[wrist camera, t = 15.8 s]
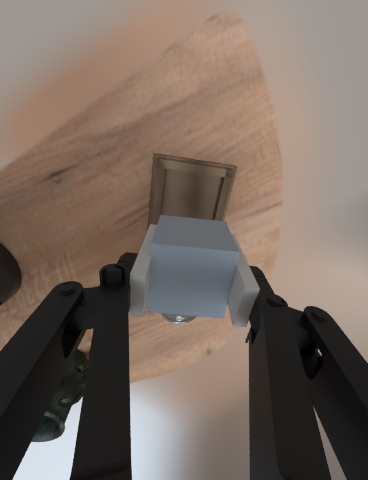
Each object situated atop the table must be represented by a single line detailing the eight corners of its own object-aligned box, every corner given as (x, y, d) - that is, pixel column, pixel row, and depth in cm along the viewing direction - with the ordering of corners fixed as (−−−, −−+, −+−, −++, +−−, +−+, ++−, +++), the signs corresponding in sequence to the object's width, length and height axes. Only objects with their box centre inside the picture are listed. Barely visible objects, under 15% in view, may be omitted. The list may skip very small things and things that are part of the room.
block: (160, 214, 16) (150, 243, 12) (225, 221, 16) (239, 251, 12) (157, 269, 18) (147, 311, 14) (214, 275, 19) (223, 318, 14)
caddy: (145, 271, 36) (142, 282, 34) (154, 153, 28) (151, 155, 25) (208, 278, 37) (210, 290, 35) (235, 166, 29) (240, 169, 26)
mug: (27, 352, 45) (-21, 419, 35) (84, 332, 43) (51, 398, 32) (59, 380, 50) (26, 447, 39) (113, 363, 47) (93, 430, 37)
